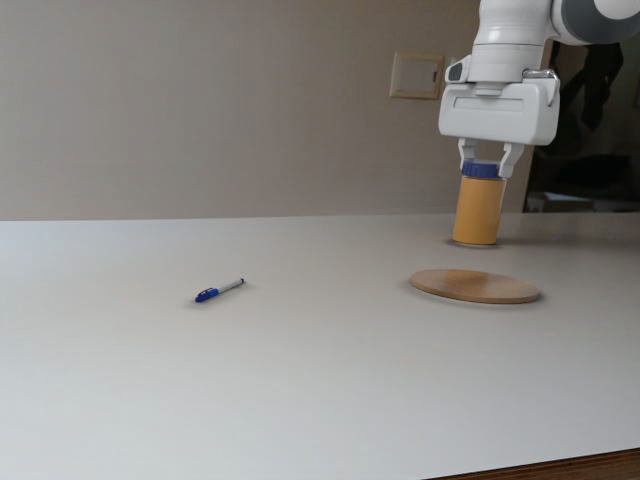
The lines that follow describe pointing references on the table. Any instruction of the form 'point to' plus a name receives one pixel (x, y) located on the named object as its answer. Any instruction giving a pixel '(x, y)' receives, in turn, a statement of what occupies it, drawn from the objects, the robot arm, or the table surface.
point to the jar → (478, 210)
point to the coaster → (475, 286)
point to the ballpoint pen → (217, 290)
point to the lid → (479, 168)
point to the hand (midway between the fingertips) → (484, 173)
